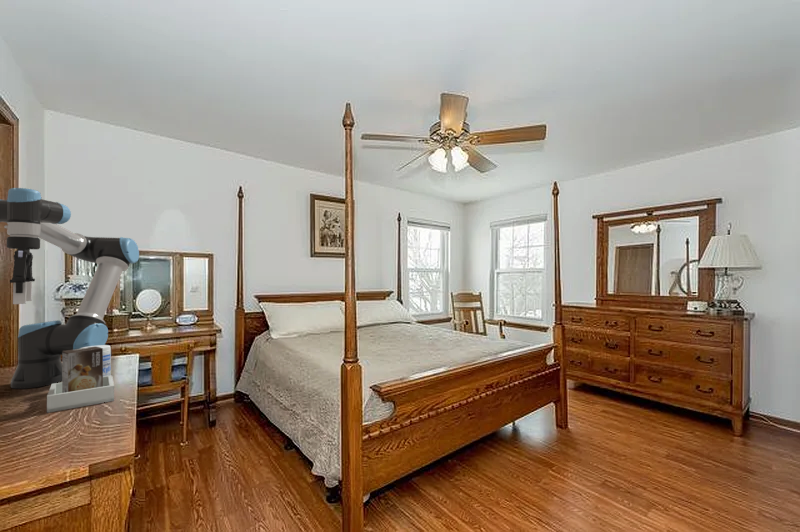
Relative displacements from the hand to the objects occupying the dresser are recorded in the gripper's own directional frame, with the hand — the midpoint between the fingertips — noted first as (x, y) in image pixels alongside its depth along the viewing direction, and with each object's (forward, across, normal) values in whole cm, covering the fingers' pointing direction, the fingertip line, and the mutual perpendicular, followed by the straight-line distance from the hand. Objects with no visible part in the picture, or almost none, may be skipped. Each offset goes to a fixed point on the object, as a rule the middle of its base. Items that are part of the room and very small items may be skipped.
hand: (22, 302), depth 117 cm
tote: (+33, +7, +15) cm, 37 cm away
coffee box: (+32, +9, +15) cm, 36 cm away
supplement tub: (+33, -8, +18) cm, 38 cm away
